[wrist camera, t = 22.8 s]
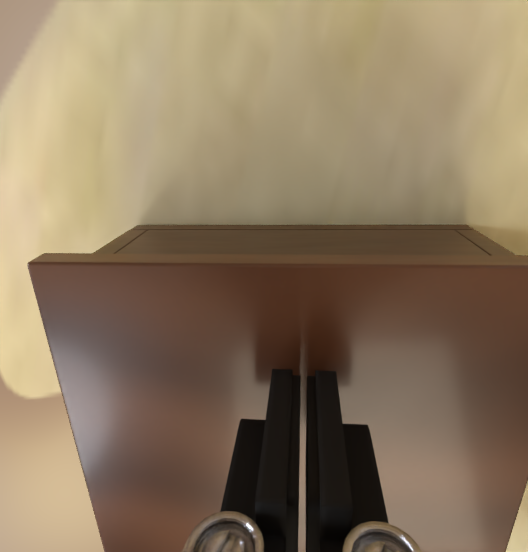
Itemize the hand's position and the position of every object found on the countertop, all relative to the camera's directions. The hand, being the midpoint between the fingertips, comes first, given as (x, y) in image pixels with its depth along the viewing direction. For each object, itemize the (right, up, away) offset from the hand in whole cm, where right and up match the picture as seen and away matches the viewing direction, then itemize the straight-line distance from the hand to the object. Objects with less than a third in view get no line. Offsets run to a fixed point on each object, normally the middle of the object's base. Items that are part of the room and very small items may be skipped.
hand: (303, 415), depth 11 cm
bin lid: (0, -3, +3) cm, 4 cm away
